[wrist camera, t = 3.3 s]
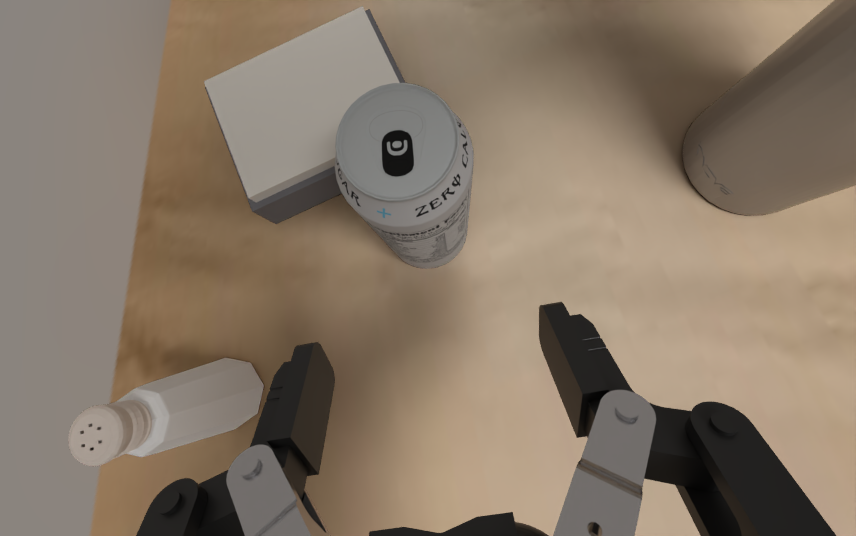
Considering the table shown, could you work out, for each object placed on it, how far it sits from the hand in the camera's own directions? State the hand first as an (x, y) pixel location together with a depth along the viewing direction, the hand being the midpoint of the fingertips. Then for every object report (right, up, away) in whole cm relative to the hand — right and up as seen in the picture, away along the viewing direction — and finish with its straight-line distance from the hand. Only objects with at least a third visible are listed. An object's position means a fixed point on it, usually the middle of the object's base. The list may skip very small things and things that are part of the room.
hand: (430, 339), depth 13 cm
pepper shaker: (-15, -7, +15) cm, 23 cm away
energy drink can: (0, +5, +16) cm, 17 cm away
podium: (-8, +14, +17) cm, 24 cm away
